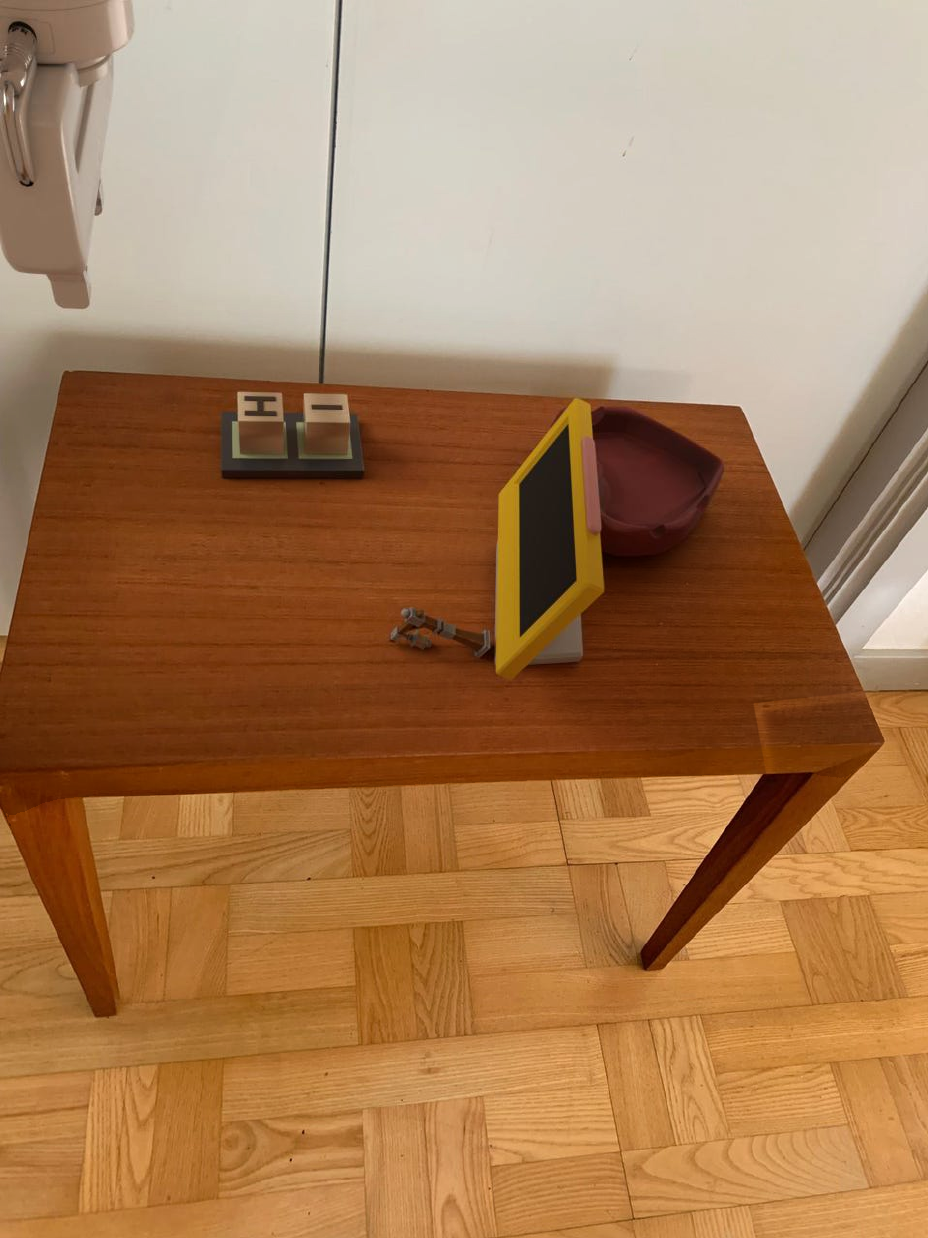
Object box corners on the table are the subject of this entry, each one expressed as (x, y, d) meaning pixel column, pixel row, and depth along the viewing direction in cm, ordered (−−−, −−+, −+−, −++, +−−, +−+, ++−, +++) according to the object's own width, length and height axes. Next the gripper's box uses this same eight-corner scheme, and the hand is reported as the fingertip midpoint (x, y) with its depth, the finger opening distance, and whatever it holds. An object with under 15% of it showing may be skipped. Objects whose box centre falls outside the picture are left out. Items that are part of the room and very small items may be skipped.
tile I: (305, 454, 87) (306, 421, 84) (303, 425, 89) (303, 391, 86) (348, 454, 88) (350, 421, 84) (344, 426, 90) (347, 392, 87)
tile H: (239, 454, 85) (237, 419, 82) (239, 424, 88) (237, 390, 85) (283, 454, 86) (283, 420, 83) (282, 425, 89) (282, 391, 85)
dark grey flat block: (221, 478, 85) (221, 469, 84) (221, 419, 89) (221, 410, 89) (363, 478, 88) (364, 469, 87) (356, 421, 92) (357, 412, 91)
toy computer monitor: (491, 519, 87) (526, 385, 75) (573, 530, 88) (621, 399, 75) (487, 698, 75) (528, 574, 62) (582, 709, 75) (641, 588, 63)
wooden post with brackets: (379, 626, 76) (407, 597, 73) (461, 655, 80) (491, 628, 77) (378, 644, 75) (406, 615, 72) (461, 673, 79) (491, 646, 76)
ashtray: (741, 564, 88) (763, 528, 85) (582, 574, 84) (596, 537, 81) (678, 436, 99) (695, 399, 95) (533, 440, 95) (544, 402, 91)
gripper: (84, 94, 38) (128, 368, 49) (117, -85, 50) (147, 167, 61) (-86, 79, 37) (-1, 364, 48) (-10, -101, 49) (43, 160, 59)
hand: (82, 252), depth 54 cm, fingers open, 8 cm apart
